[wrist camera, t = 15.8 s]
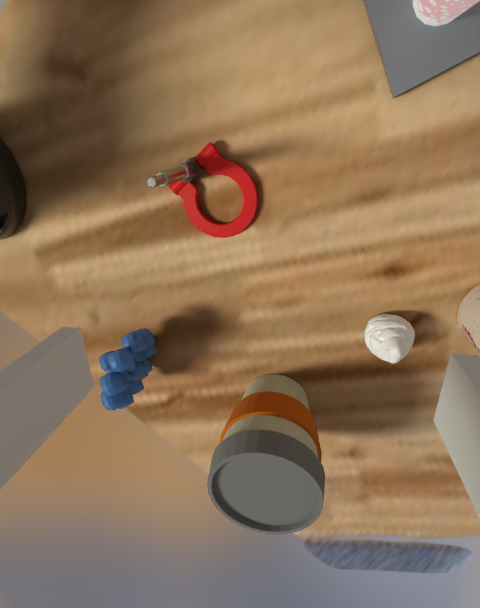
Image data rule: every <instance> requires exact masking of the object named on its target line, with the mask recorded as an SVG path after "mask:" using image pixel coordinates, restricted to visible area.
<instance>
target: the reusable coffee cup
mask: <svg viewBox="0 0 480 608" xmlns="http://www.w3.org/2000/svg"><path fill="white" fill-rule="evenodd" d="M321 455H322V453H321V448H320V443H319V439H318V434H317V429H316V424H315V420H314V418H313V415H312V413H311V412H310V410H309V405H308V399H307V395H306V393H305V391H304V389H303V388H302V387H301V385H299V384H298V383H297V382H296V381H294V380H293V379H291V378H289V377H286V376H283V375H278V374H269V375H264V376H260V377H258V378H256V379H255V380H254V381H252V382H251V383H250V385H249V386H248V388H247V390H246V392H245V394H244V396H243V398H242V400H241V401H239V402H238V404H237V405H236V406H235V408H234V410H233V412H232V414H231V416H230V418H229V420H228V422H227V424H226V426H225V428H224V430H223V432H222V435H221V438H220V444H219V445H218V446H217V447H216V449H215V451H214V453H213V455H212V461H211V467H210V472H209V478H208V492H209V495H210V497H211V500H212V502H213V503H214V505H215V506H216V508H217V509H218V510H219V511H220V512H221V513H222V514H223V515H224V516H226V517H227V518H228V519H230V520H231V521H233V522H234V523H236V524H238V525H240V526H242V527H245V528H247V529H249V530H253V531H257V532H260V533H267V534H287V533H293V532H297V531H300V530H302V529H304V528H306V527H308V526H310V525H311V524H312V523H314V522H315V521H316V520H317V518H318V517H319V516H320V514H321V511H322V509H323V499H324V486H325V473H324V469H323V466H322V464H321Z"/></svg>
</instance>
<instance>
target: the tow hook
mask: <svg viewBox="0 0 480 608" xmlns="http://www.w3.org/2000/svg"><path fill="white" fill-rule="evenodd" d="M204 169H206V170H207V171H208V172H209V173H210V174H211V175H215V174H222V175H226V176H229V177H230V178H232V179H234V180H235V181H236V182H237V183H238V184H239V186H240V188H241V190H242V192H243V196H244V205H243V209H242V212H241V213H240V215H239V216H238V217H237V218H236V219H235V220H233V221H231V222H229V223H225V224H223V223H216V222H212V221H211V220H209V219H208V218H207V217H206V216H205V215H204V214H203V213H202V211H201V210H200V208H199V205H198V197H197V195H198V188H197V187H196V186H195V185H194V183H193V182H192V181H194V180H195V179H196V178H197V177H198V176H199V175H200V174H201V172H202V171H203V170H204ZM147 185H148V186H149V187H151V188H153V187H156V186H159V187H164V186H167V185H169V187H170V189H171V190H172V191H173V192H174V193H175V194H177V195H180V196H181V197H182V198H183V200H184V207H185V210H186V213H187V215H188V217H189V218H190V220H191V222H192V223H193V224H194V225H195V226H196V227H197V228H198V229H199V230H201V231H202V232H204V233H206V234H208V235H211V236H214V237H230V236H234V235H236V234H238V233H240V232H242V231H243V230H244V229H245V228H246V227H247V226H248V225H249V224H250V222H251V221H252V219H253V217H254V216H255V213H256V209H257V206H258V194H257V189H256V185H255V183H254V181H253V179H252V177H251V176H250V174H249V173H248V172H247V171H246V170H245V169H244V168H243V167H241V166H240V165H238V164H237V163H235V162H232V161H229V160H226V159H223V158H222V157H221V155H220V154H219V151H218V149H217V148H216V146H215V145H214V144H213V143H211V142H209V144H208V145H207V146H206V147H205V148H204V149H203V150H202V151H201V152H200V153H199V154H198V155H197V156H196V157H193V158H189V159H188V161H187V162H186V163H182V164H179V165H178V166H177V167H176V168H173V169H169V170H165V171H161V172H158V173H156V175H155V176H153V177H150V178H148V179H147Z"/></svg>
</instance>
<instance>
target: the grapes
mask: <svg viewBox="0 0 480 608" xmlns="http://www.w3.org/2000/svg"><path fill="white" fill-rule="evenodd" d="M121 341H122V344H123V348H122V349H119V350H116V351H110V352H107V353H105V354H103V355H102V356H100V357H99V361H100V365H101V368H102V369H103V370H104V371H105V372H107V373H108V374H106V375H104V376H103V377H101V378H100V385H101V389H102V391H103V392H102V393H101V399H102V403H103V406H104V407H105V408H106V409H108V410H115V409H122V408H124V407H127V406H129V405H130V404H132V403H133V402H134V400H133V396H132V395H133V394H136V393H138V392H140V391H141V390H143V389H144V386H143V383H142V380H141V379H143V378H145V377H146V376H148V373H149V372H150V371H152V370H153V369H152V365H151V363H150V360H149V359H148V358H149V357H151V356H153V355H154V354H156V353H157V351H156V347H155V340H154V337H153V335H152V333H151V332H150V330H149V329H146V328H144V329H140V330H137V331H134V332H130V333H128V334H126V335H125V336H123V337H122V338H121Z"/></svg>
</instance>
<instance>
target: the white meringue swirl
mask: <svg viewBox="0 0 480 608" xmlns="http://www.w3.org/2000/svg"><path fill="white" fill-rule="evenodd" d="M414 338H415V332H414V329H413V327H412V325H411V324H410V323H409V322H408V321H406V320H405V319H404V318H402V317H400V316H397V315H392V314H381V315H377V316H375V317H373V318H372V319H370V320H369V322H368V324H367V327H366V329H365V342H366V345H367V346H368V348H369V350H370V351H371V352H372V353H373V354H374V355H375V356H377V357H379V358H380V359H382V360H384V361H387V362H390V363H397V362H398V361H400V360H401V359H403V358H404V357H405V356H406V355H407V354H408V353H409V351H410V350H411V347H412V345H413V342H414Z"/></svg>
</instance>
